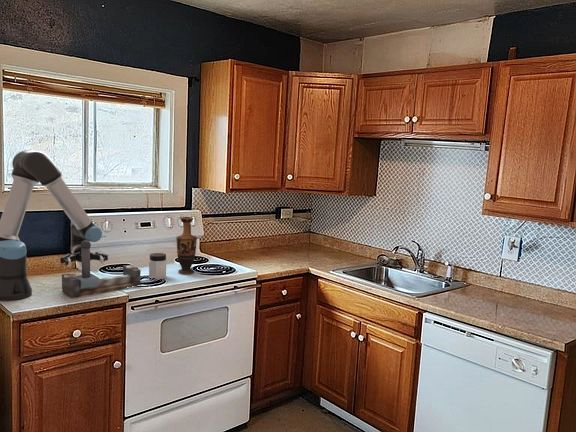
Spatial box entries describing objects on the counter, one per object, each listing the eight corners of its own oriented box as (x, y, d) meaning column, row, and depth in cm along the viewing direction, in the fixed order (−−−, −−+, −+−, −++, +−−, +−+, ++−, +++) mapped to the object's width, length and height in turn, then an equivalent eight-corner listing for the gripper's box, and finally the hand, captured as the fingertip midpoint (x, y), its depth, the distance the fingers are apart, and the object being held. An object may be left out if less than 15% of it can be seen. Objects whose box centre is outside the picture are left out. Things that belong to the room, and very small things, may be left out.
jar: (151, 280, 245) (151, 256, 244) (146, 276, 252) (146, 253, 250) (168, 278, 250) (169, 255, 248) (163, 274, 257) (163, 252, 255)
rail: (69, 298, 211) (69, 279, 210) (59, 291, 220) (59, 273, 219) (142, 285, 235) (142, 268, 234) (130, 280, 243) (130, 263, 242)
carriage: (81, 288, 216) (80, 242, 213) (73, 284, 222) (72, 239, 220) (99, 285, 221) (98, 241, 219) (91, 281, 228) (90, 237, 225)
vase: (192, 275, 256) (192, 219, 252) (172, 274, 258) (173, 218, 254) (199, 271, 267) (200, 216, 263) (180, 269, 269) (181, 215, 265)
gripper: (108, 258, 243) (115, 268, 224) (53, 262, 231) (56, 273, 212) (108, 244, 242) (115, 252, 223) (52, 247, 230) (55, 256, 211)
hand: (86, 262), depth 218 cm, fingers open, 13 cm apart
